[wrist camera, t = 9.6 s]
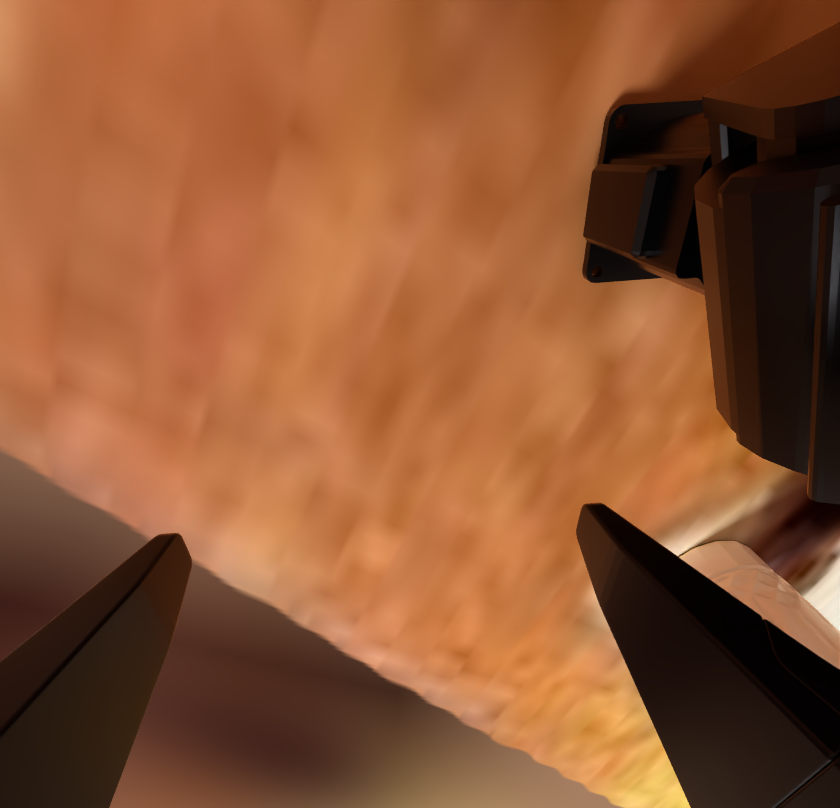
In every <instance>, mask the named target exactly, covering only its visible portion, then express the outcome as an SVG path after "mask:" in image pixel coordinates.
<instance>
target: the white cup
mask: <svg viewBox="0 0 840 808" xmlns="http://www.w3.org/2000/svg"><path fill="white" fill-rule="evenodd" d="M679 558H681V559H682V560H683V561H685V562H686V563H688V564H689V565H690V566H692V567H693V568H695V569H696V570H697V571H699V572H700V573H702V574H703V575H705V576H706V577H707V578H709V579H710V580H712V581H713V582H714V583H716V584H717V585H719V586H720V587H721V588H723V589H724V590H726V591H727V592H729V593H730V594H731V595H733V596H734V597H736V598H737V599H738V600H740V601H741V602H743V603H744V604H745V605H747V606H748V607H750V608H751V609H752V610H754V611H755V612H757V613H758V614H760V615H761V616H762V618H763V619H767V620H768V621H770V622H771V623H772V624H774V625H775V626H777V627H778V628H780V629H781V630H782V631H784V632H785V633H787V634H788V635H789V636H791V637H792V638H794V639H795V640H797V641H798V642H800V643H801V644H803V645H804V646H805V647H807V648H808V649H810V650H811V651H813V652H814V653H816V654H817V655H819V656H820V657H821V658H823V659H825V660H826V661H828V662H829V663H831V664H832V665H834V666H835V667H837V668H838V669H840V631H839V630H838V629H836V628H835V627H834V626H833V625H832V624H831V623H830V622H829V621H828V620H827V619H826V618H825V617H824V616H823V615H822V614H821V613H820V612H819V611H818V610H817V609H816V608H815V607H813V606H812V605H811V604H810V603H809V602H808V601H807V600H805V599H804V598H803V597H802V596H801V595H799V593H798V592H797V591H796V590H795V589H794V588H793V587H792V586H791V585H790V584H788V583H787V582H786V581H785V580H784V579H783V578H781V577H780V576H779V575H777V574H776V573H774V571H773V570H772V569H771V568H770V567H769V566H768V565H767V564H766V563H765V562H764V561H763V560H762V559H761V558H760V557H759V556H758V555H757V554H755V553H754V552H753V551H752V550H751V549H750V548H749V547H747V546H745V545H743V544H741V543H739V542H737V541H715V542H712V543H708V544H705V545H702V546H698V547H695V548H694V549H692V550H690V551H689V552H687V553H685V554H684V555H682V556H680V557H679Z"/></svg>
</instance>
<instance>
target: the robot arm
mask: <svg viewBox="0 0 840 808" xmlns="http://www.w3.org/2000/svg"><path fill="white" fill-rule="evenodd" d="M620 114H621V115H622V116H623V124H622V126H621V127H620V128H619V129H618V128H617V127H616V123H615V121H616V119H617V117H618V116H619V115H620ZM583 236H584V237H585V239H586V240H587V243H586V250H585V257H584V263H583V270H582V271H583V276H584V278H585V279H587V280H588V281H590V282H593V283H600V282H614V281H627V280H640V279H653V278H665V279H667V280H669V281H672V282H674V283H677V284H679V285H682V286H684V287H686V288H689V289H691V290H694V291H696V292H699V293H701V294H703V295H705V300H706V310H707V319H708V329H709V339H710V348H711V358H712V367H713V377H714V386H715V396H716V406H717V410H718V411H719V412H720V414H721V415H722V417H723V418H724V419H725V421H726V422H727V424H728V425H729V427H730V428H731V429H732V430H733V431H734V432H735V433H736V435H737V441H738V442H739V444H741V445H742V446H744V447H745V448H747V449H749V450H750V451H752V452H753V453H755V454H756V455H758V456H760V457H761V458H763V459H766V460H768V461H771V462H773V463H776V464H778V465H781V466H783V467H786V468H788V469H791V470H793V471H796V472H799V473H803V474H806V475H808V481H807V495H808V497H809V498H810V499H811V500H814V501H816V502H822V503H831V504H840V22H839V23H837V24H835V25H834V26H832V27H830V28H828V29H826V30H824V31H822V32H820V33H818V34H817V35H815V36H813V37H811V38H809V39H807V40H805V41H803V42H801V43H799V44H798V45H796V46H794V47H792V48H790V49H788V50H786V51H784V52H782V53H781V54H779V55H777V56H775V57H773V58H771V59H769V60H767V61H765V62H763V63H762V64H760V65H758V66H756V67H754V68H752V69H750V70H748V71H746V72H745V73H743V74H741V75H739V76H737V77H735V78H733V79H731V80H729V81H727V82H726V83H724V84H722V85H720V86H718V87H716V88H714V89H712V90H710V91H709V92H707V93H705V94H703V95H702V100H700V101H682V102H664V103H647V104H629V105H622V106H618V107H614V108H613V109H612V110H611V111H609V113H608V114H607V116H606V118H605V122H604V127H603V134H602V141H601V148H600V154H599V161H598V166H597V167H596V168H595V169H594V170H593V172H592V177H591V184H590V191H589V198H588V205H587V212H586V220H585V227H584V234H583ZM595 266H599V270H598V272H597V273H596V274H595V275H592V270H593V268H594V267H595ZM576 534H577V539H578V542H579V545H580V548H581V551H582V554H583V558H584V561H585V564H586V567H587V570H588V573H589V576H590V579H591V582H592V585H593V588H594V591H595V594H596V596H597V599H598V602H599V604H600V607H601V609H602V611H603V614H604V616H605V618H606V620H607V623H608V625H609V627H610V629H611V632H612V634H613V636H614V638H615V640H616V643H617V645H618V647H619V649H620V652H621V654H622V656H623V658H624V660H625V663H626V665H627V667H628V669H629V671H630V674H631V676H632V678H633V680H634V683H635V685H636V687H637V689H638V691H639V694H640V696H641V698H642V700H643V703H644V705H645V707H646V709H647V711H648V714H649V716H650V718H651V720H652V722H653V725H654V727H655V729H656V731H657V734H658V736H659V738H660V740H661V742H662V745H663V747H664V749H665V751H666V754H667V756H668V758H669V760H670V762H671V765H672V767H673V769H674V771H675V774H676V776H677V778H678V780H679V782H680V785H681V787H682V789H683V791H684V793H685V796H686V798H687V800H688V802H689V805H690V807H691V808H840V669H838V668H837V667H835V666H834V665H832V664H831V663H829V662H828V661H826V660H825V659H823V658H821V657H820V656H819V655H817V654H816V653H814V652H813V651H811V650H810V649H808V648H807V647H805V646H804V645H803V644H801V643H800V642H798V641H797V640H795V639H794V638H792V637H791V636H789V635H788V634H787V633H785V632H784V631H782V630H781V629H780V628H778V627H777V626H775V625H774V624H772V623H771V622H770V621H768V620H767V619H763V618H762V616H761V615H760V614H758V613H757V612H755V611H754V610H752V609H751V608H750V607H748V606H747V605H745V604H744V603H743V602H741V601H740V600H738V599H737V598H736V597H734V596H733V595H731V594H730V593H729V592H727V591H726V590H724V589H723V588H721V587H720V586H719V585H717V584H716V583H714V582H713V581H712V580H710V579H709V578H707V577H706V576H705V575H703V574H702V573H700V572H699V571H697V570H696V569H695V568H693V567H692V566H690V565H689V564H688V563H686V562H685V561H683V560H682V559H681V558H679V557H678V556H676V555H675V554H674V553H672V552H671V551H669V550H668V549H666V548H665V547H664V546H662V545H661V544H659V543H658V542H657V541H655V540H654V539H652V538H651V537H650V536H648V535H647V534H645V533H644V532H642V531H641V530H640V529H638V528H637V527H635V526H634V525H633V524H631V523H630V522H628V521H627V520H626V519H624V518H623V517H621V516H620V515H619V514H617V513H616V512H614V511H613V510H611V509H610V508H609V507H607V506H606V505H604V504H602V503H589V504H584V505H583V506H582V509H581V512H580V516H579V520H578V524H577V529H576ZM191 567H192V559H191V556H190V554H189V551H188V549H187V547H186V545H185V542H184V540H183V538H182V536H181V535H180V534H178V533H169V534H160V535H157V536H156V537H154V538H153V539H152V540H150V541H149V542H148V543H147V544H145V545H144V546H143V547H142V548H140V549H139V550H138V551H137V552H136V553H134V554H133V555H132V556H131V557H129V558H128V559H127V560H126V561H124V562H123V563H122V564H121V565H120V566H118V567H117V568H116V569H114V570H113V571H112V572H111V573H110V574H108V575H107V576H106V577H105V578H103V579H102V580H101V581H100V582H98V583H97V584H96V585H95V586H93V587H92V588H91V589H90V590H88V591H87V592H86V593H85V594H84V595H82V596H81V597H80V598H78V599H77V600H76V601H75V602H74V603H72V604H71V605H70V606H69V607H67V608H66V609H65V610H64V611H62V612H61V613H60V614H59V615H57V616H56V617H55V618H54V619H52V620H51V621H50V622H49V623H47V624H46V625H45V626H44V627H43V628H41V629H40V630H39V631H38V632H36V633H35V634H34V635H33V636H31V637H30V638H29V639H28V640H26V641H25V642H24V643H23V644H21V645H20V646H19V647H18V648H16V649H15V650H14V651H13V652H12V653H10V654H9V655H8V656H7V657H5V658H4V659H3V660H2V661H0V808H109V807H110V804H111V801H112V798H113V796H114V793H115V791H116V788H117V785H118V783H119V780H120V778H121V775H122V772H123V769H124V767H125V764H126V761H127V759H128V756H129V754H130V751H131V748H132V746H133V743H134V740H135V738H136V735H137V732H138V730H139V727H140V724H141V722H142V719H143V717H144V714H145V711H146V708H147V706H148V703H149V701H150V698H151V695H152V693H153V690H154V687H155V685H156V682H157V679H158V676H159V674H160V671H161V669H162V666H163V663H164V661H165V658H166V656H167V653H168V650H169V647H170V645H171V642H172V639H173V635H174V632H175V628H176V625H177V621H178V617H179V613H180V610H181V606H182V602H183V598H184V594H185V590H186V586H187V583H188V579H189V576H190V572H191Z"/></svg>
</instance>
